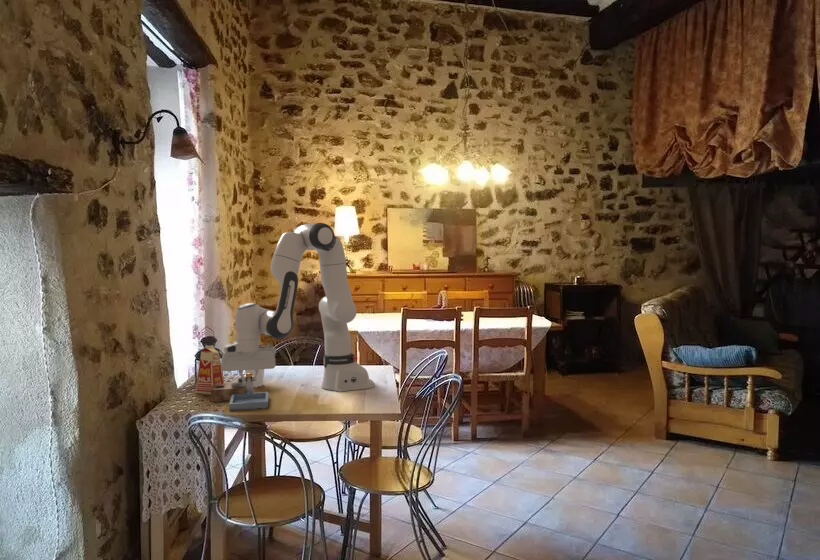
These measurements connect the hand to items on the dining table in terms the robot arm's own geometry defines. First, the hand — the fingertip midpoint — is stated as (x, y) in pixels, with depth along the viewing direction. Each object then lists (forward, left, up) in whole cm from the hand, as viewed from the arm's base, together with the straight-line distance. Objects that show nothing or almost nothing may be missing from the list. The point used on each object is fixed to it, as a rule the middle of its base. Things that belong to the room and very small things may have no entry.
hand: (249, 381), depth 231 cm
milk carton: (+17, -23, -9) cm, 31 cm away
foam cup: (-1, -28, -9) cm, 30 cm away
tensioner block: (+8, -11, -9) cm, 17 cm away
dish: (0, 0, -9) cm, 9 cm away
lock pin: (0, 0, -6) cm, 6 cm away
